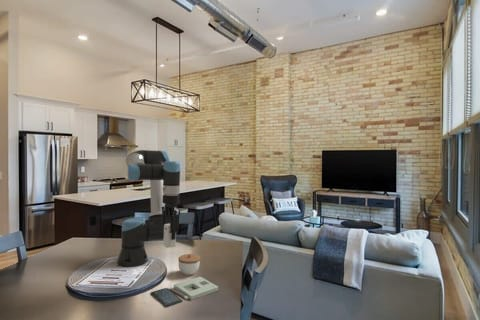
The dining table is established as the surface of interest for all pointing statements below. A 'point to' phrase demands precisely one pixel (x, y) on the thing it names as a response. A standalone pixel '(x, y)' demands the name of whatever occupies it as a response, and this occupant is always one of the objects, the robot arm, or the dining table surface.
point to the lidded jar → (189, 263)
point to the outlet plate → (199, 283)
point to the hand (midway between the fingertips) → (169, 245)
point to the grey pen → (177, 293)
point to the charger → (167, 235)
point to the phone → (166, 297)
